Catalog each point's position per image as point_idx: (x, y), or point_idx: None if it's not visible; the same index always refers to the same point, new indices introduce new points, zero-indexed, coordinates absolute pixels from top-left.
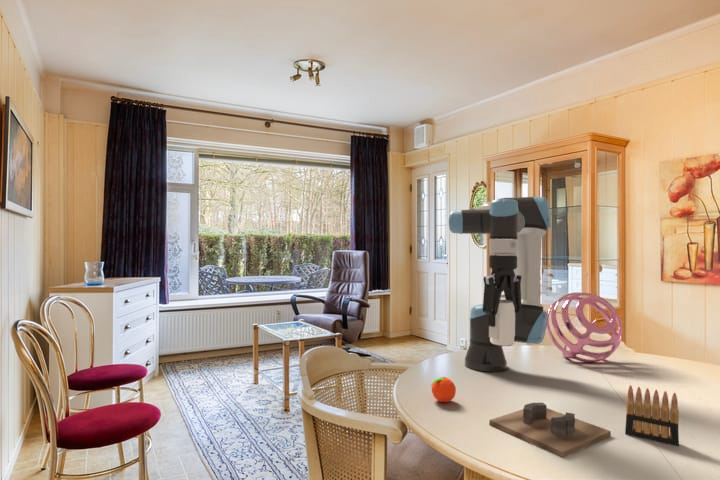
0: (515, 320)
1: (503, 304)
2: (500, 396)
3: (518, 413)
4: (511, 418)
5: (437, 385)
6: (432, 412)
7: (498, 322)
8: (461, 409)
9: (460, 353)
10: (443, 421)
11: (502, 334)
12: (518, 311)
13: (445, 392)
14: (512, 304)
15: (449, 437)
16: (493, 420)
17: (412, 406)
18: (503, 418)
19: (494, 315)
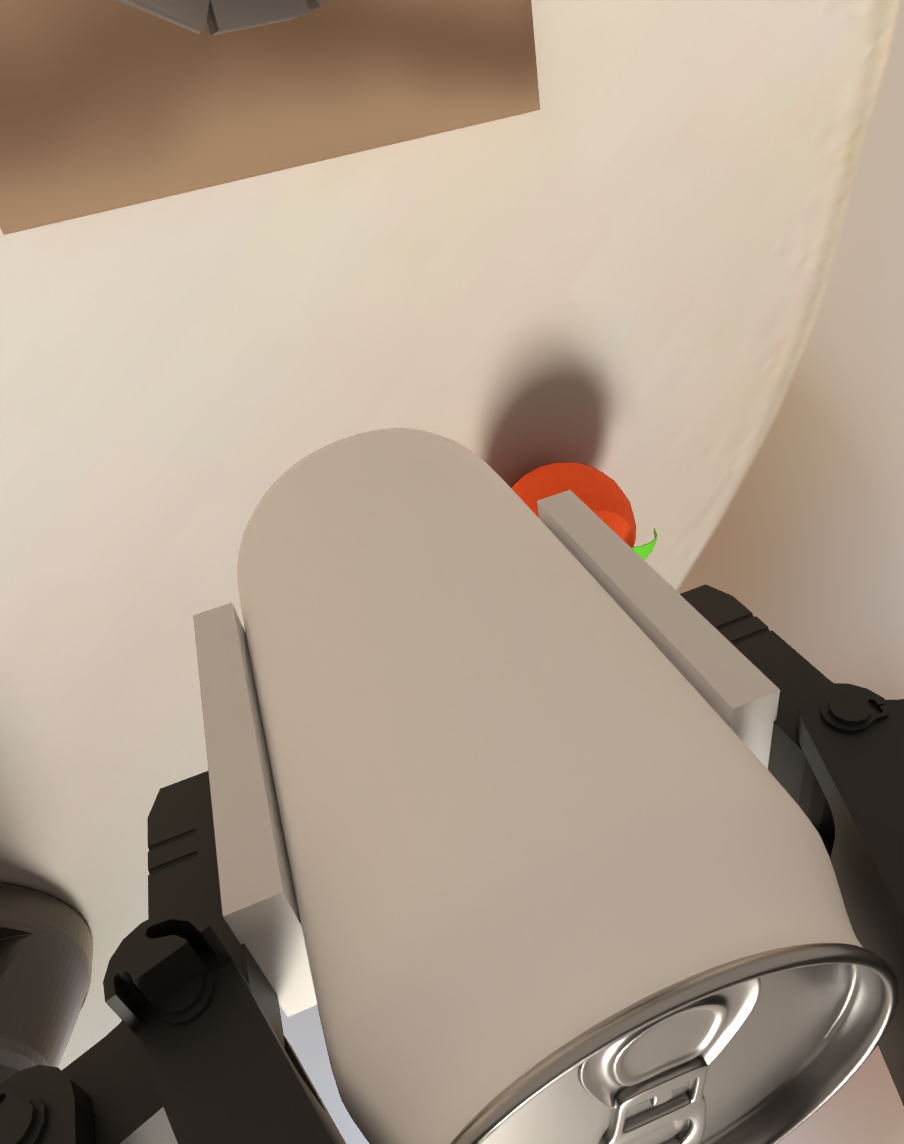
0: (157, 829)
1: (814, 909)
2: (158, 508)
3: (278, 128)
4: (387, 67)
5: (634, 525)
6: (674, 382)
7: (664, 622)
8: (521, 378)
9: None
10: (707, 256)
11: (527, 508)
12: (154, 946)
13: (602, 475)
14: (544, 977)
15: (823, 45)
16: (523, 89)
17: (702, 475)
18: (439, 92)
19: (792, 708)
